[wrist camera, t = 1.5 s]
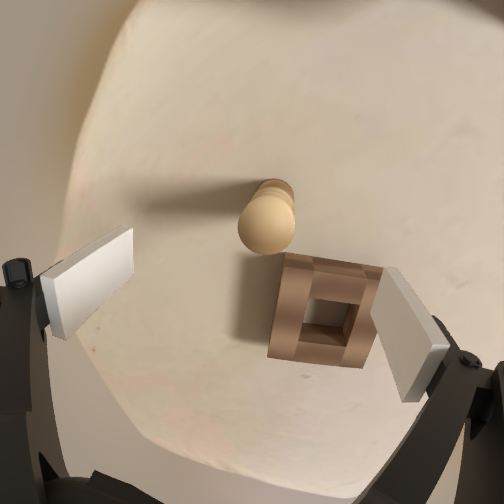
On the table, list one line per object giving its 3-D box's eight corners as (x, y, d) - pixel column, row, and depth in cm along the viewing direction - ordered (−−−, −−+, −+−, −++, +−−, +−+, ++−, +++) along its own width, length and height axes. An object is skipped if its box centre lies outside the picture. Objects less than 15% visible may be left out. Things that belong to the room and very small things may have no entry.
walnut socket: (285, 252, 35) (284, 266, 31) (384, 268, 34) (394, 282, 30) (269, 338, 39) (267, 357, 36) (357, 349, 38) (362, 368, 35)
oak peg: (258, 176, 32) (240, 196, 21) (296, 181, 32) (298, 204, 21) (254, 212, 34) (235, 250, 23) (290, 218, 34) (289, 258, 22)
